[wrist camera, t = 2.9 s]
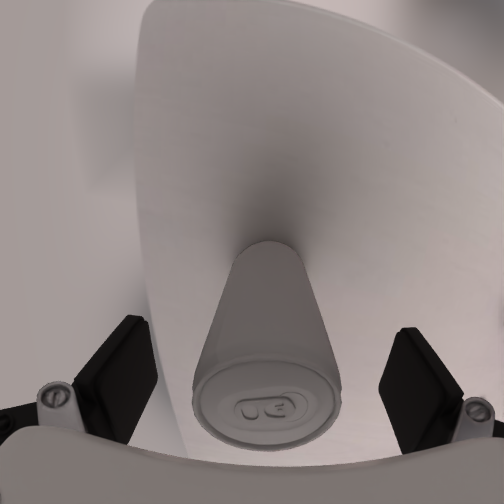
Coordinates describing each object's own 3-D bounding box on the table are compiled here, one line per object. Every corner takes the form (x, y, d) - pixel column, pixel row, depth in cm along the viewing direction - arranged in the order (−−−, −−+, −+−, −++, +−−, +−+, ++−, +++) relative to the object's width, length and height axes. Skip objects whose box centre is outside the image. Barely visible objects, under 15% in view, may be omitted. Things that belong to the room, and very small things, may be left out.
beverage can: (307, 301, 20) (342, 444, 8) (238, 309, 20) (208, 454, 8) (300, 233, 18) (349, 340, 7) (225, 243, 19) (166, 357, 7)
